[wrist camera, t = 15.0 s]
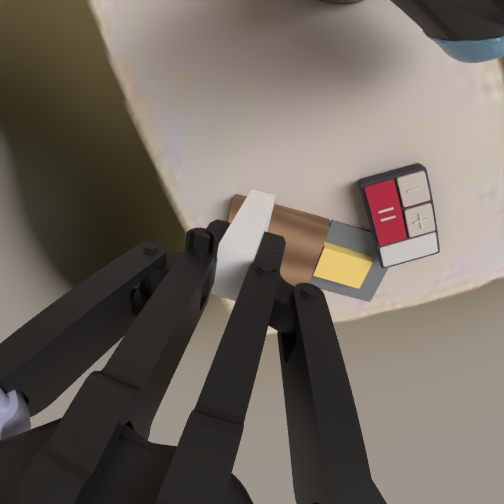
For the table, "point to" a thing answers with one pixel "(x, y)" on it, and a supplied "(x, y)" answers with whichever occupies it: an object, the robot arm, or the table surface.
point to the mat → (359, 243)
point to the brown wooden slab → (294, 239)
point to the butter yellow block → (342, 265)
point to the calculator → (401, 214)
